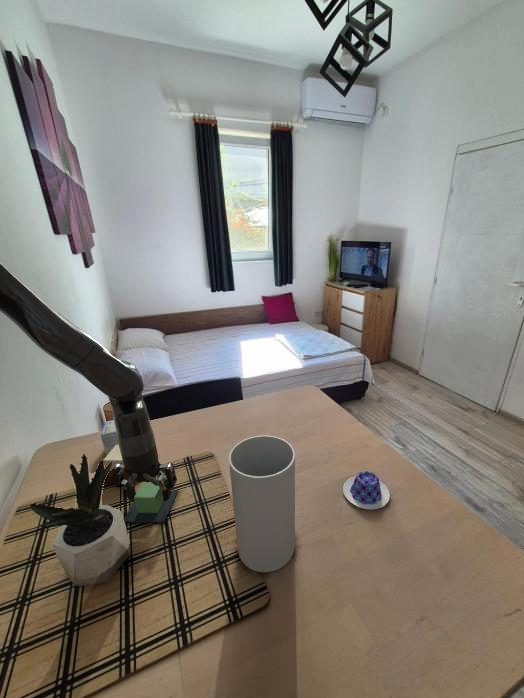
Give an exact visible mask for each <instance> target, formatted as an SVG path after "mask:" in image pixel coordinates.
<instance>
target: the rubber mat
mask: <svg viewBox="0 0 524 698" xmlns="http://www.w3.org/2000/svg"><path fill="white" fill-rule="evenodd" d="M178 493H179V491H178V490H171V496H170V498H169V499H168V500H167V501H163V503H162V506H161V508H160V510H159V512H158V513H138V511H137V507H136V503H135V500H133V503H131V506H130V507H129V509H128V511H127V513H126V515H125V517H124V518H123V520H125V523H127V524H128V523H129V524H131V523H132V524H165V522H166V520H167V518H168V515H169V514H170V511H171V509H172V506H173V504H174V502H175V501H176V498H177V496H178Z"/></svg>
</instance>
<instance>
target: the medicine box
mask: <svg viewBox="0 0 524 698" xmlns="http://www.w3.org/2000/svg"><path fill="white" fill-rule="evenodd" d="M100 438H101V442H102V445H103V449H104V452H105V455H106V456H107V455H108V454H109V453H110V451H111V450H112V449H113V448H114V447H115V445H119V444H118V437H117V431H116V427H115V424H114V419H112V420H108V421H104V422H103V425H102V430H101V433H100Z"/></svg>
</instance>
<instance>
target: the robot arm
mask: <svg viewBox="0 0 524 698" xmlns="http://www.w3.org/2000/svg"><path fill="white" fill-rule="evenodd" d="M0 313H1V314H3V315H4V316H5V317H6V318H8V319H9V320H10V321H11V322H12V323H13V324H14V325H16V326H17V327H18V329H20V330H21V331H22V332H23V333H24V334H25V335H26V337H28V339H30V341H32V343H34V344H35V346H36V347H38V348H39V349H40V350H42V351H43V352H44V353H45V354H47V355H49V357H51V358H53V359H54V360H56V361H57V362H59V363H61V364H62V365H64V366H65V367H67V368H69V369H70V370H72V371H74V372H76V373H78V374H79V375H80V376H82V377H83V378H84V379H85V380H87V382H89V383H90V385H92V386H94V387H96V389H97V390H99V391H100V392H101V393H103V395H105V396H107V397H108V400H109V403H110V405H111V410H112V418H113V420H114V424H115V427H116V431H117V437H118V444H119V448H120V452H121V456H122V460H123V464H124V465H122V463H121V462H117V464H116V465H115V466H114V468H113V469H112V473H113V478H114V483H115V485H114V487H115V488H116V489H120V488H122V490H124V492H125V495H126V498H127V499H128V500H129V501H130V502H134V501H135V499H134V497H135V495H136V493H137V491H136V487H135V485H134V484H132V483H133V482H134V480H135V481H137V483H153V484H154V485H155V486H159V487H160V488H161V489H162V495H163V500H164V501H167V500H168V499H169V498H170V496H171V491H172V489H174V488H175V485H176V483H177V482H178V478H177V474H176V471H175V466H174V463H173V462H172V461H169V462H168V463H167V464H161V462H160V461H159V453H158V448H157V443H156V438H155V433H154V430H153V427H152V425H151V420H150V415H149V410H148V408H147V406H146V403H145V400H144V397H143V392H144V389H145V382H144V379H143V377H142V375H141V372H139V370H138V368H137V367H136V366H135V365H134V364H133V363H132V362H131V361H127V360H123V359H122V360H121V359H118V358H116V357H115V356H113V355H112V354H111V353H110V351H108V349H107V348H106V347H105V346H104V345H103V344H102V343H101V342H99V340H96V338H94V337H93V336H91V335H90V334H88V333H87V332H85V331H84V330H83V329H81V328H80V327H79V326H78V325H76V324H74V323H73V322H72V321H70V320H69V319H68V318H66V317H64V316H63V315H62V314H61V313H59V312H58V311H57V310H56V309H54V307H52V306H51V305H49V303H47V302H45V300H44V299H42V298H41V297H40V296H39V295H37V294H36V293H35V292H34V291H32V290H31V289H30V288H29V287H28V286H26V284H25V283H23V282H22V281H21V280H20V279H19V278H18V277H16V276H15V274H13V273H12V272H11V271H10V270H9V268H7V267H6V266H5V265H4V264H3V263H2V262H1V261H0ZM124 471H125V472H126V473H127V474H128V475H129V476H130V478H129V479H128V480H125V477H124Z"/></svg>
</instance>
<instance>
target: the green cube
mask: <svg viewBox="0 0 524 698" xmlns="http://www.w3.org/2000/svg"><path fill="white" fill-rule="evenodd" d="M134 501H135V503H136V507H137V511H138V513H158V512H159V510H160V508H161V506H162V503H163V501H164V500H163V495H162V489H161V488H160V487H159V486H155V485H154V484H153V483H151V482H141V485H140V487H139V488H138V490H137V491H136V495H135V497H134Z"/></svg>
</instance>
